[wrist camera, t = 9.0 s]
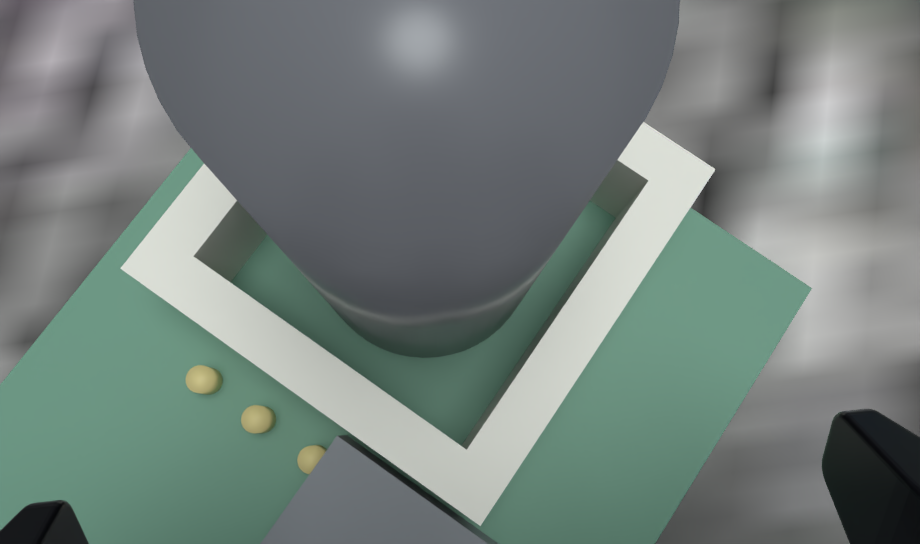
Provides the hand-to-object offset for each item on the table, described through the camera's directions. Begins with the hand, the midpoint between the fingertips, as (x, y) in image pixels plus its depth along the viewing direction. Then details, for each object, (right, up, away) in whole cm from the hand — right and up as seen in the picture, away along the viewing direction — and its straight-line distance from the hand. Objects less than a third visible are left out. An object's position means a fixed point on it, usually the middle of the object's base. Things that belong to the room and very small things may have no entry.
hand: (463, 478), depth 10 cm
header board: (-2, -1, +10) cm, 10 cm away
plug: (-1, +3, +10) cm, 10 cm away
